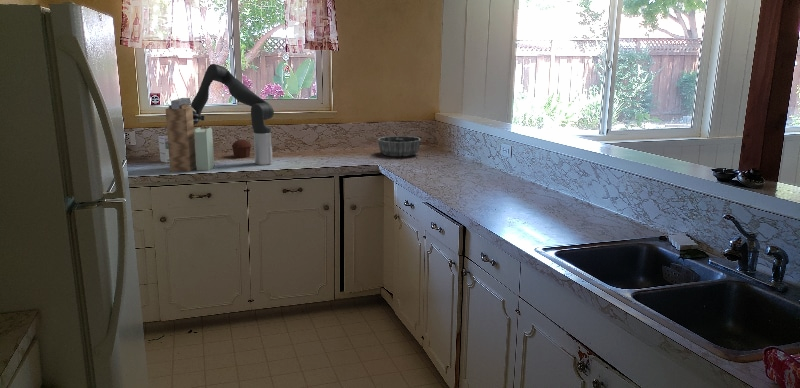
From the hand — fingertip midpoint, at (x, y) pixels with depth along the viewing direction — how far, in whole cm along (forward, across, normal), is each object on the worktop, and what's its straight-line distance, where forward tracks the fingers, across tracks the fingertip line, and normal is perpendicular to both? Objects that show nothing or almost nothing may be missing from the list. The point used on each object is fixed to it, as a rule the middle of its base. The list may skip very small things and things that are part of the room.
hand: (190, 116), depth 325 cm
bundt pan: (-3, +121, +10) cm, 122 cm away
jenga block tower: (+9, -2, +28) cm, 29 cm away
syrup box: (-16, -10, +26) cm, 32 cm away
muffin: (-21, +30, +20) cm, 42 cm away
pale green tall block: (+10, +9, +26) cm, 30 cm away
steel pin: (+9, -5, -4) cm, 11 cm away
